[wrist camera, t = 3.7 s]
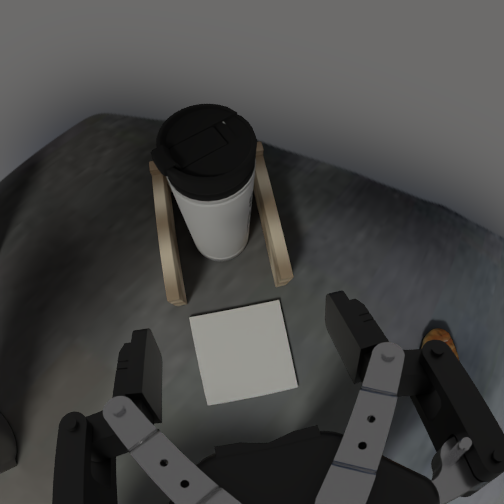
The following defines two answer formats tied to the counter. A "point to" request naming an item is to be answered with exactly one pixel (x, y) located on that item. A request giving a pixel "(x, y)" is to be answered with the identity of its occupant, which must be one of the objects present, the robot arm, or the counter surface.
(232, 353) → the grey mat
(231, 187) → the travel mug
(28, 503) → the counter surface
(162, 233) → the frame
